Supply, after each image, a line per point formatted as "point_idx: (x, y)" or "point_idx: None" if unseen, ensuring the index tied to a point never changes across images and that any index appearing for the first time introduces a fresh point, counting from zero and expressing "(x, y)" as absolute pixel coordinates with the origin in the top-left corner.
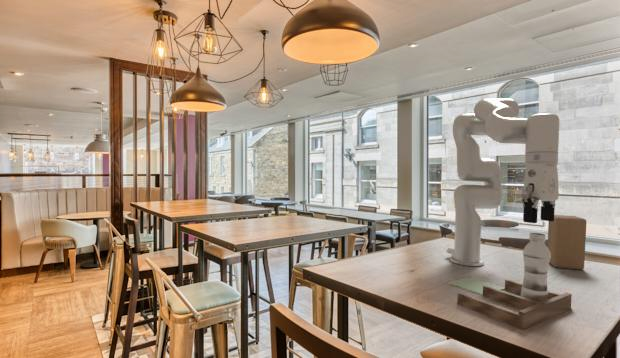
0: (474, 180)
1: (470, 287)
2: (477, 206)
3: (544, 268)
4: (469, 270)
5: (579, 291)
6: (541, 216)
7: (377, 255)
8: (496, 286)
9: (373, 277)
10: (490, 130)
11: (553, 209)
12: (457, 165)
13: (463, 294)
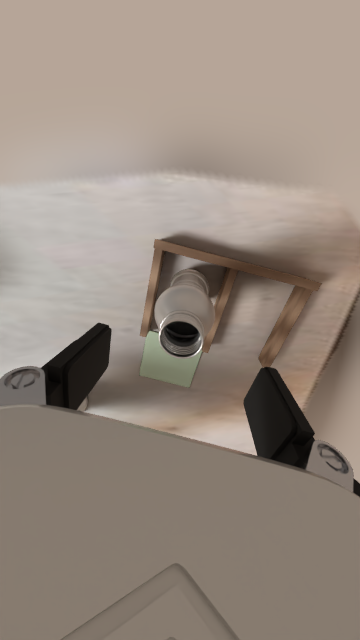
0: None
1: (186, 364)
2: None
3: (200, 287)
4: (102, 383)
5: (52, 240)
6: (100, 374)
7: None
8: (150, 340)
9: (236, 446)
10: None
11: (72, 358)
12: None
13: (269, 362)
